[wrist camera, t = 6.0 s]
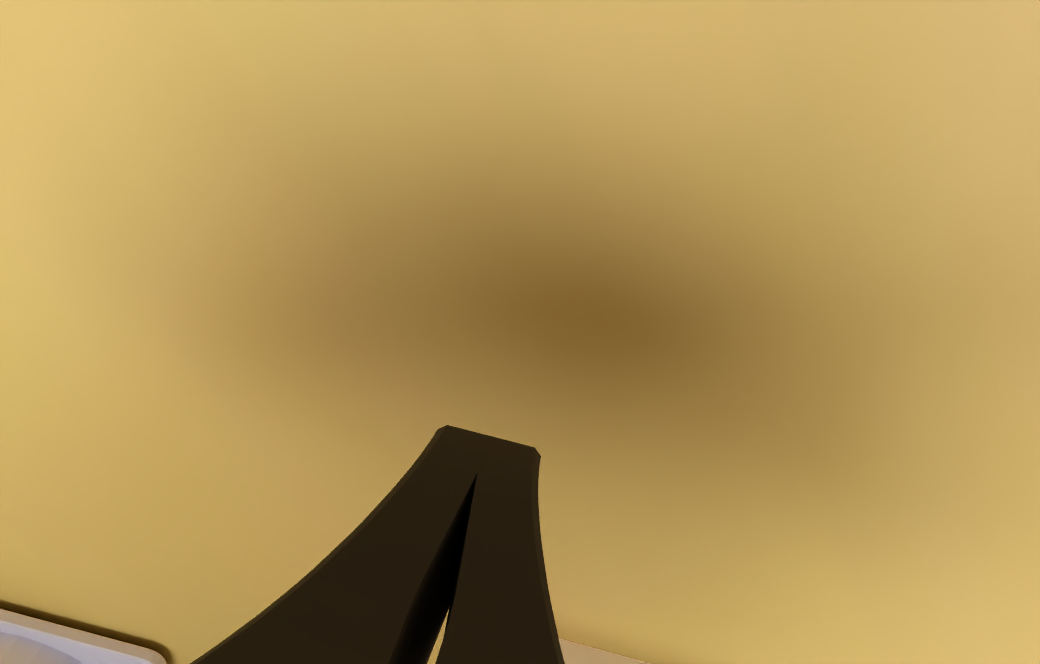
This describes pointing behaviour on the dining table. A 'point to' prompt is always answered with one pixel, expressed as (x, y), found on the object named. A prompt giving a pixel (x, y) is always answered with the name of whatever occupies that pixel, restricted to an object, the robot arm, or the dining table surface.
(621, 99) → the dining table surface
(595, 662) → the beige cube
